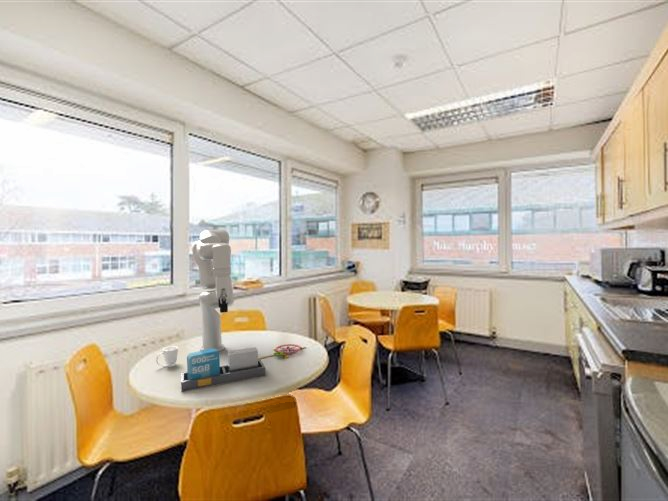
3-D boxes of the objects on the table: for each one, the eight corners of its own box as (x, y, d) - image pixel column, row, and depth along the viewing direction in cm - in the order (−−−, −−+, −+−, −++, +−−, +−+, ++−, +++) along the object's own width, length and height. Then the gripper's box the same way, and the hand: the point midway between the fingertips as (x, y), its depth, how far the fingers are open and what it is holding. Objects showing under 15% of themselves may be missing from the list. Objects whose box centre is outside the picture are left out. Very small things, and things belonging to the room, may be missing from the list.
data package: (190, 386, 136) (189, 356, 136) (187, 382, 140) (186, 353, 139) (220, 378, 143) (219, 350, 143) (217, 374, 147) (216, 347, 146)
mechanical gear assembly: (313, 352, 176) (298, 345, 188) (313, 344, 176) (298, 338, 188) (259, 366, 159) (247, 358, 171) (259, 357, 158) (246, 350, 170)
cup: (181, 364, 161) (181, 348, 161) (159, 371, 154) (158, 353, 153) (175, 361, 166) (174, 344, 166) (153, 367, 159) (153, 350, 158)
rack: (181, 381, 142) (180, 356, 142) (260, 367, 156) (260, 344, 155) (181, 392, 133) (180, 365, 132) (265, 376, 146) (265, 351, 146)
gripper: (212, 269, 158) (213, 306, 159) (214, 275, 142) (215, 315, 143) (229, 269, 161) (229, 304, 162) (232, 274, 145) (233, 313, 146)
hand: (223, 309), depth 153 cm, fingers open, 9 cm apart
